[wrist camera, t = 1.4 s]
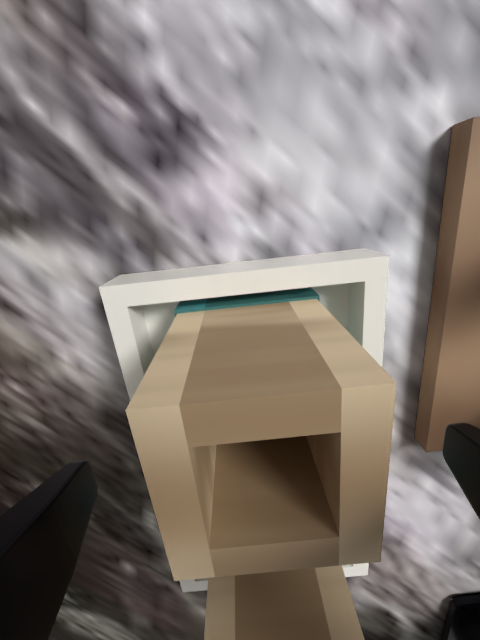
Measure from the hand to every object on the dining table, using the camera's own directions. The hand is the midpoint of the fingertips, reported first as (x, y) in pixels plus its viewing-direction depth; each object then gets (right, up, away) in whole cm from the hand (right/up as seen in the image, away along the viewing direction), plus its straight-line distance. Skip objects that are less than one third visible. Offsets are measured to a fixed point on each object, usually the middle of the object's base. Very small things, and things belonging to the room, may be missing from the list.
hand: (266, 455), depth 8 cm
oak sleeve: (0, +2, +5) cm, 6 cm away
